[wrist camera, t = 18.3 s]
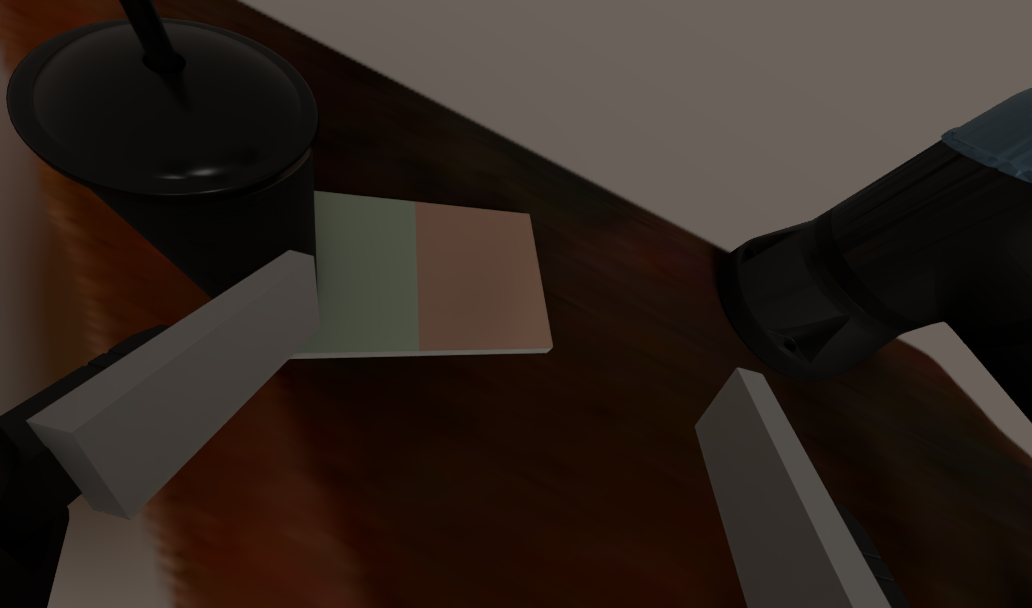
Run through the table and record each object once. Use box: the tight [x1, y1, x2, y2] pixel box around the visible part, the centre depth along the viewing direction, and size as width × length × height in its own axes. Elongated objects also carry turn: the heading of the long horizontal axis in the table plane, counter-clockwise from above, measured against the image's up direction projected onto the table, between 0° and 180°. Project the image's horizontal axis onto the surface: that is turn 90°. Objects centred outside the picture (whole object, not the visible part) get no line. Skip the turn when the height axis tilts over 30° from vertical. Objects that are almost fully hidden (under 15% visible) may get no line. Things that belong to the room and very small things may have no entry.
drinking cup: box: [6, 0, 319, 299], centre depth 15 cm, size 8×8×20 cm
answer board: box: [289, 191, 553, 359], centre depth 28 cm, size 19×12×1 cm, turn 97°
